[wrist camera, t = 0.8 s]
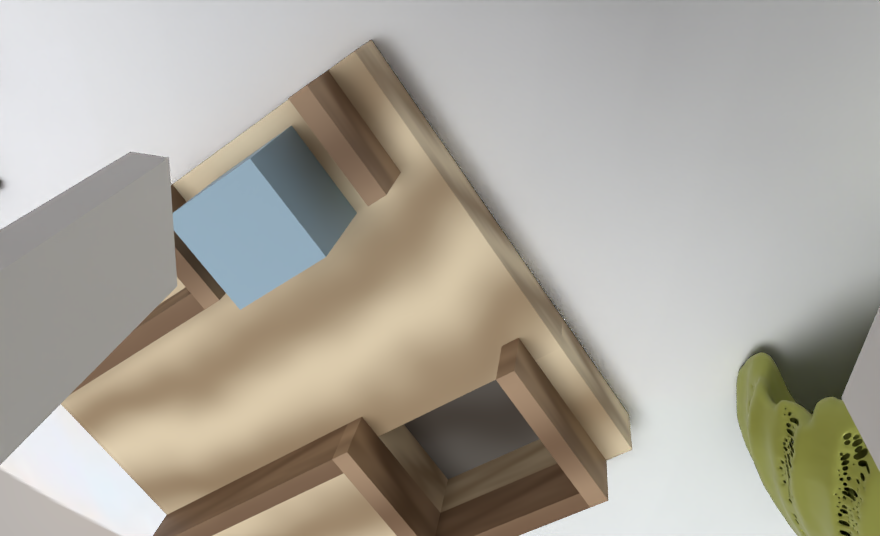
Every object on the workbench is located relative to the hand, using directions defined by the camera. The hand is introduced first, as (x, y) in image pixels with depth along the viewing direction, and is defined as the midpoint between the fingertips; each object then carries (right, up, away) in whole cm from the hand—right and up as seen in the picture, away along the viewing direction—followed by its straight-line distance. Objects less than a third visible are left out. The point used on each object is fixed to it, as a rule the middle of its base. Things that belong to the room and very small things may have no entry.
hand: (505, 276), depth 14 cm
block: (-9, +4, +22) cm, 24 cm away
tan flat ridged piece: (-9, -5, +30) cm, 31 cm away
